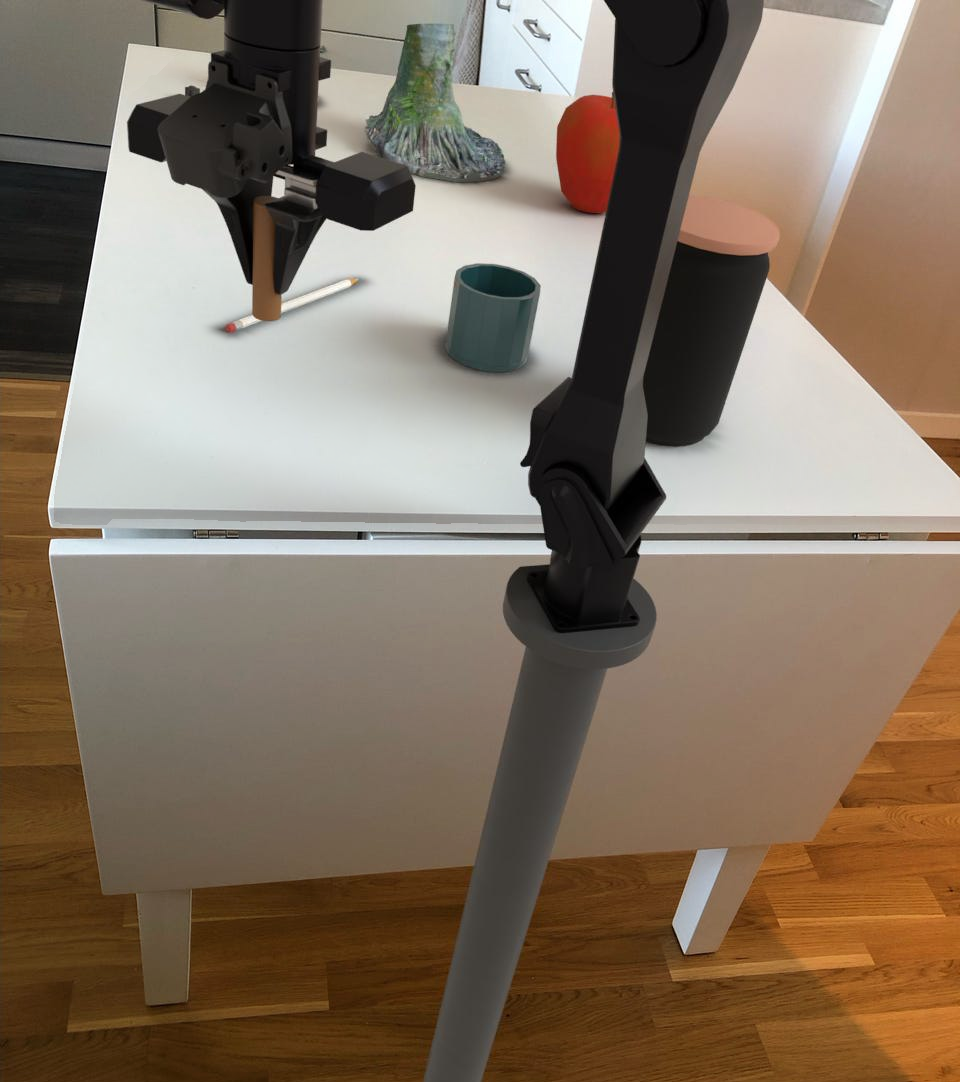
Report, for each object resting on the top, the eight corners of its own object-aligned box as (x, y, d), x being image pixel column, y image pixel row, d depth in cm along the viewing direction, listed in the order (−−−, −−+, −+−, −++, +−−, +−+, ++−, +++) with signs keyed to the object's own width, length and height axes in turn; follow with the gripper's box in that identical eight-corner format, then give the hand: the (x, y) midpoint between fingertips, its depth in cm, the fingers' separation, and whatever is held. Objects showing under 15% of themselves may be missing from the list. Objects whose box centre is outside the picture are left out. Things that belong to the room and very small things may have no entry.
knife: (208, 126, 133) (166, 121, 132) (208, 142, 135) (166, 138, 134) (211, 85, 147) (173, 81, 146) (211, 101, 149) (173, 97, 147)
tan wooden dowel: (283, 321, 76) (287, 206, 71) (254, 321, 75) (256, 205, 70) (278, 309, 77) (281, 195, 72) (249, 309, 76) (251, 194, 71)
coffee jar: (739, 438, 96) (808, 238, 85) (651, 459, 91) (713, 249, 79) (661, 382, 102) (716, 189, 91) (574, 400, 97) (621, 197, 85)
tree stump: (410, 189, 134) (401, 24, 125) (342, 175, 149) (330, 26, 140) (532, 177, 142) (532, 20, 134) (456, 164, 157) (451, 22, 148)
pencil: (224, 330, 97) (224, 323, 97) (356, 280, 110) (356, 274, 110) (231, 334, 97) (231, 326, 97) (362, 283, 110) (362, 277, 109)
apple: (566, 227, 131) (591, 103, 122) (527, 191, 139) (548, 72, 130) (653, 228, 136) (683, 109, 127) (611, 193, 144) (636, 79, 135)
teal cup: (538, 371, 100) (552, 300, 96) (459, 372, 98) (470, 299, 93) (511, 333, 106) (523, 264, 101) (435, 333, 103) (444, 262, 99)
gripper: (53, 15, 61) (78, 280, 71) (332, 101, 57) (317, 372, 67) (179, -4, 69) (185, 237, 79) (432, 70, 65) (405, 316, 75)
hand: (267, 287), depth 75 cm, fingers closed on tan wooden dowel, 2 cm apart
